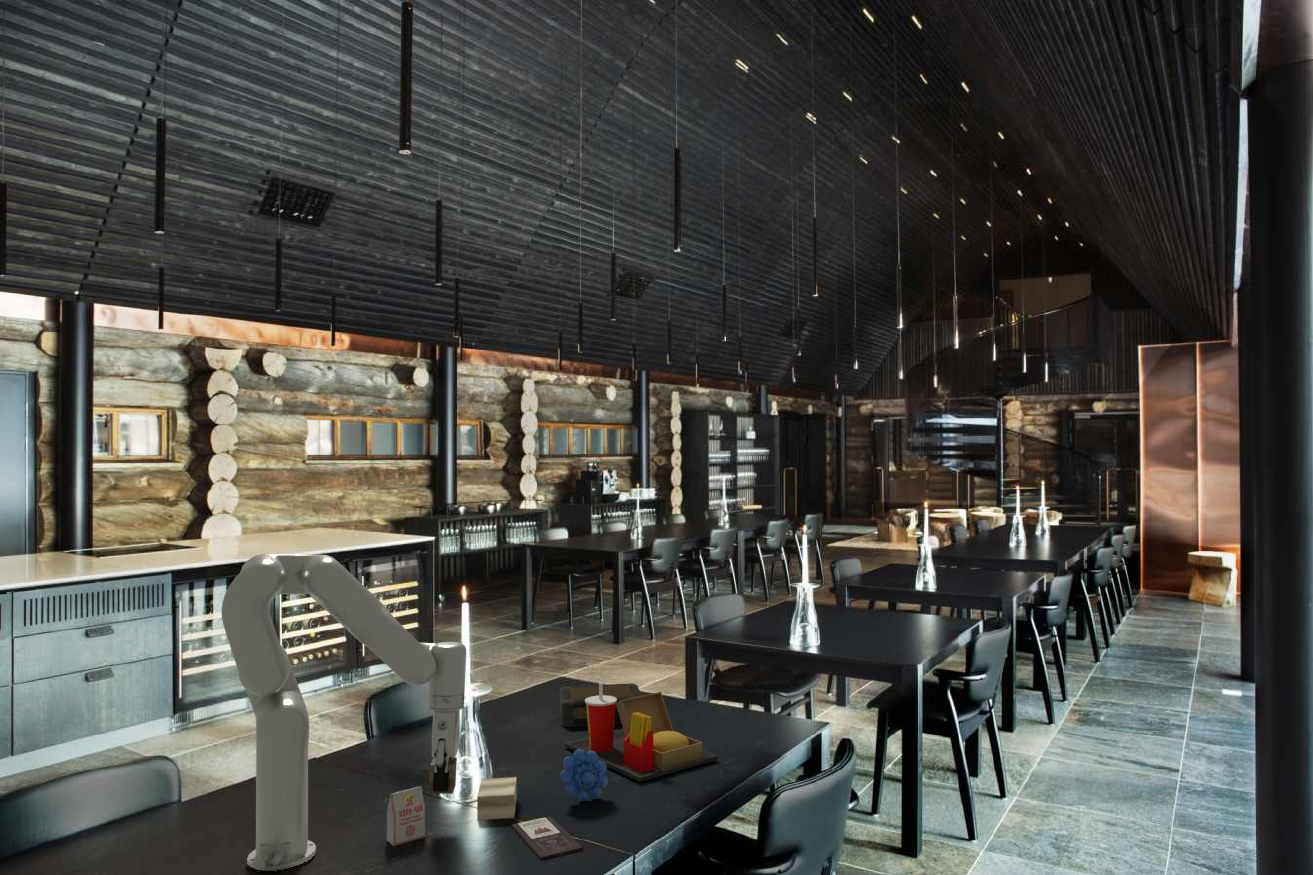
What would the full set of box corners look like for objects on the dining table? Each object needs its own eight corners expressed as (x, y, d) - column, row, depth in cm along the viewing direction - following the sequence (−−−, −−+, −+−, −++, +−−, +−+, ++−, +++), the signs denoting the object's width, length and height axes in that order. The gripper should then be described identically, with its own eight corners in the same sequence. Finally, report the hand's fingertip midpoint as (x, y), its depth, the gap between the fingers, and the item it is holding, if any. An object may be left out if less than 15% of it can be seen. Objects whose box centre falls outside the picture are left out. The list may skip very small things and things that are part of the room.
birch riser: (514, 817, 188) (514, 794, 189) (477, 819, 188) (477, 796, 188) (516, 798, 199) (516, 776, 200) (481, 800, 198) (481, 778, 199)
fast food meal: (639, 785, 208) (638, 709, 208) (564, 749, 235) (563, 682, 236) (717, 763, 223) (716, 691, 224) (638, 731, 251) (638, 668, 252)
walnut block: (452, 793, 182) (454, 764, 182) (428, 793, 181) (430, 764, 182) (455, 785, 187) (456, 757, 187) (432, 785, 186) (433, 757, 187)
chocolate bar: (540, 857, 168) (511, 824, 184) (540, 862, 168) (511, 828, 184) (583, 847, 172) (550, 815, 188) (583, 852, 172) (550, 820, 188)
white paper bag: (386, 840, 178) (386, 791, 178) (417, 831, 182) (417, 783, 182) (393, 846, 175) (393, 796, 175) (424, 836, 179) (424, 788, 180)
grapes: (566, 811, 191) (565, 757, 192) (557, 801, 197) (556, 748, 198) (614, 803, 196) (614, 750, 196) (604, 793, 202) (604, 741, 203)
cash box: (636, 705, 278) (636, 681, 279) (645, 723, 258) (644, 698, 259) (559, 709, 275) (559, 685, 275) (561, 728, 255) (561, 702, 255)
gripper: (459, 710, 177) (455, 800, 176) (468, 691, 194) (464, 773, 193) (422, 710, 176) (418, 800, 175) (434, 691, 193) (430, 773, 192)
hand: (442, 785), depth 184 cm, fingers closed on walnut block, 5 cm apart
